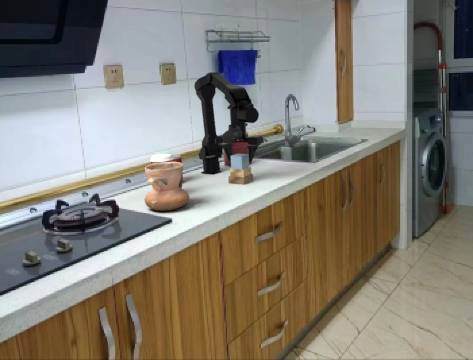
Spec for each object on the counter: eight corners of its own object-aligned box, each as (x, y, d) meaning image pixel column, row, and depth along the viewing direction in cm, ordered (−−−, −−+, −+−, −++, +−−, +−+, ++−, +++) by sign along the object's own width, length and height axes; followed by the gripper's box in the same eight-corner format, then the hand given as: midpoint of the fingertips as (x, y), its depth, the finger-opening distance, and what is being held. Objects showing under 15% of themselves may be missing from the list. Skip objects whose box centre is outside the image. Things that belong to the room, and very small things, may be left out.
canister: (234, 160, 238) (232, 123, 234) (257, 162, 230) (255, 124, 226) (218, 165, 228) (216, 127, 224) (241, 167, 220) (239, 128, 216)
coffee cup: (157, 201, 171) (153, 158, 167) (150, 196, 178) (146, 155, 175) (180, 197, 174) (177, 155, 171) (172, 192, 182) (168, 152, 178)
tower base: (228, 184, 192) (228, 176, 191) (238, 180, 197) (237, 173, 197) (244, 185, 188) (243, 177, 187) (253, 181, 194) (252, 174, 193)
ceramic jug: (170, 217, 152) (166, 171, 148) (133, 212, 159) (129, 169, 155) (202, 202, 167) (199, 160, 164) (167, 198, 174) (163, 158, 171)
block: (231, 168, 191) (230, 155, 190) (238, 166, 195) (237, 153, 194) (242, 169, 188) (241, 156, 187) (249, 166, 192) (248, 154, 191)
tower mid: (230, 176, 191) (229, 168, 190) (237, 173, 196) (237, 165, 195) (243, 177, 188) (243, 169, 187) (251, 174, 193) (250, 166, 192)
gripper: (205, 123, 186) (208, 164, 189) (248, 124, 176) (250, 167, 179) (222, 120, 195) (224, 159, 198) (263, 120, 185) (265, 161, 188)
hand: (240, 161), depth 191 cm, fingers open, 9 cm apart
